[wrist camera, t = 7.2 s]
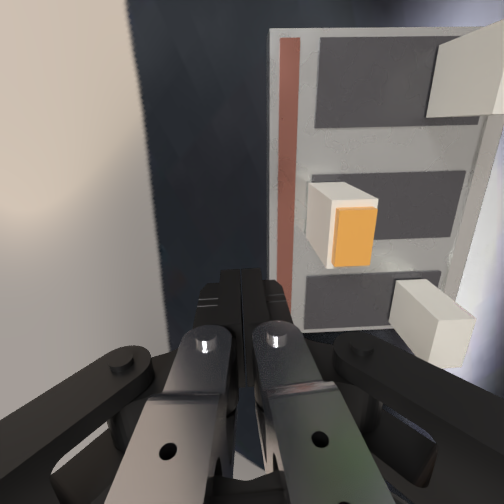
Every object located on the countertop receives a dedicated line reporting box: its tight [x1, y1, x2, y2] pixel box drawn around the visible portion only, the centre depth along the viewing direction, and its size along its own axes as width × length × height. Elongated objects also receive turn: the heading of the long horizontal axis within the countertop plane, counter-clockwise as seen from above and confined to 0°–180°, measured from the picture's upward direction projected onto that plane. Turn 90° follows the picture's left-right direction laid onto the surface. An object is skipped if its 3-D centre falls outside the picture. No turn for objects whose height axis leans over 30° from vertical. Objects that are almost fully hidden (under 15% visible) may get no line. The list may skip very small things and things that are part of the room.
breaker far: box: [389, 279, 476, 368], centre depth 23 cm, size 4×2×6 cm, turn 1°
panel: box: [266, 27, 504, 333], centre depth 23 cm, size 22×16×2 cm
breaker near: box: [426, 19, 504, 118], centre depth 16 cm, size 4×2×6 cm, turn 1°
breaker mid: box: [306, 182, 378, 269], centre depth 19 cm, size 4×2×6 cm, turn 1°
